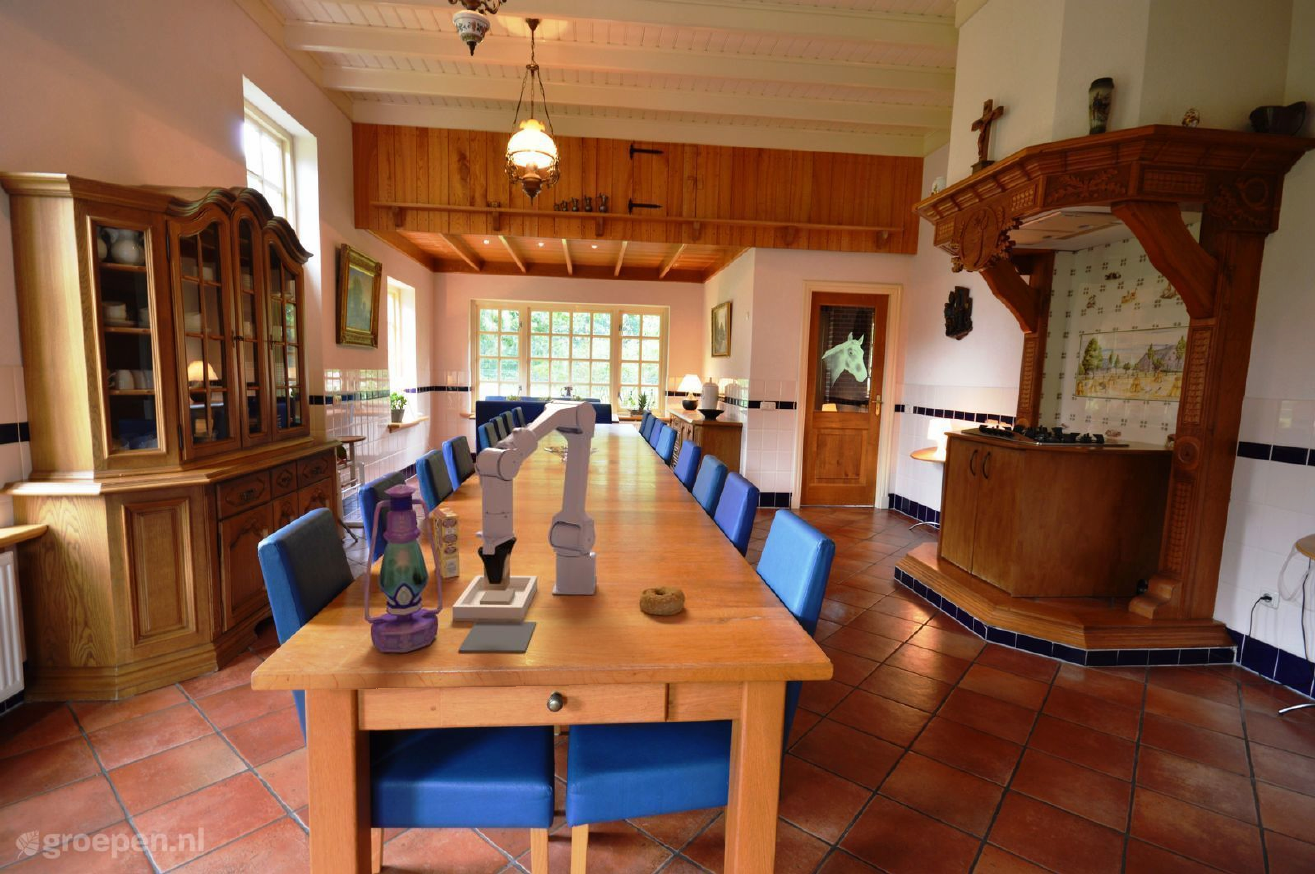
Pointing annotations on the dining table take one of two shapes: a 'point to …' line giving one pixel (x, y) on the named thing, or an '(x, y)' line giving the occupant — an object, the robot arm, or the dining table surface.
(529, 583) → the tray
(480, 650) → the rubber mat
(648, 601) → the bagel
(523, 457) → the robot arm
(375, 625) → the lantern
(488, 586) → the maple block
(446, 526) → the candy box
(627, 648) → the dining table surface
